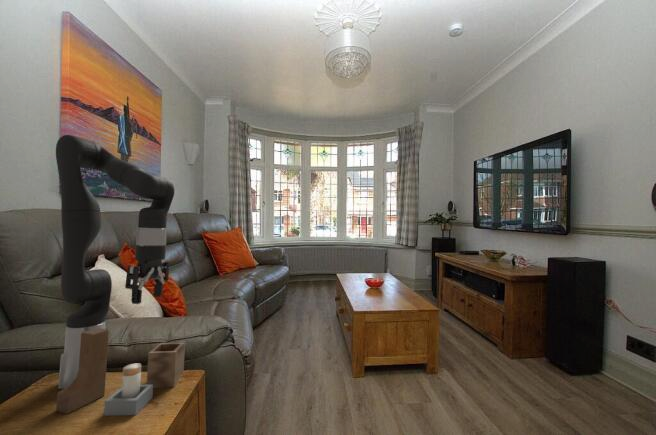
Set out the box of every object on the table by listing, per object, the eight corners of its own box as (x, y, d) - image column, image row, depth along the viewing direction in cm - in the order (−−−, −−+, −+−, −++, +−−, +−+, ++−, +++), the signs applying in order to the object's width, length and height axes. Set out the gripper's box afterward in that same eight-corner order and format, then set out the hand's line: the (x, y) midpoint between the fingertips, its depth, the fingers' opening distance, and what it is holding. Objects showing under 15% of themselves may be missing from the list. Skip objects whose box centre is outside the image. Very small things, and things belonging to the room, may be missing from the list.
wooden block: (67, 414, 71) (72, 340, 72) (55, 410, 72) (60, 338, 73) (105, 395, 79) (109, 329, 80) (94, 392, 81) (98, 327, 82)
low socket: (103, 415, 71) (104, 400, 71) (123, 397, 78) (124, 384, 78) (135, 414, 71) (136, 400, 71) (152, 397, 79) (153, 384, 79)
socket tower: (146, 388, 83) (148, 353, 84) (158, 375, 91) (159, 343, 91) (174, 386, 84) (175, 352, 85) (183, 374, 92) (185, 342, 92)
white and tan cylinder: (118, 407, 72) (121, 371, 73) (123, 399, 76) (125, 364, 76) (137, 404, 74) (139, 368, 74) (140, 396, 77) (142, 362, 78)
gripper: (156, 242, 91) (152, 294, 90) (119, 244, 76) (114, 305, 76) (178, 243, 90) (175, 295, 89) (145, 245, 76) (141, 307, 75)
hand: (147, 300), depth 82 cm, fingers open, 8 cm apart
